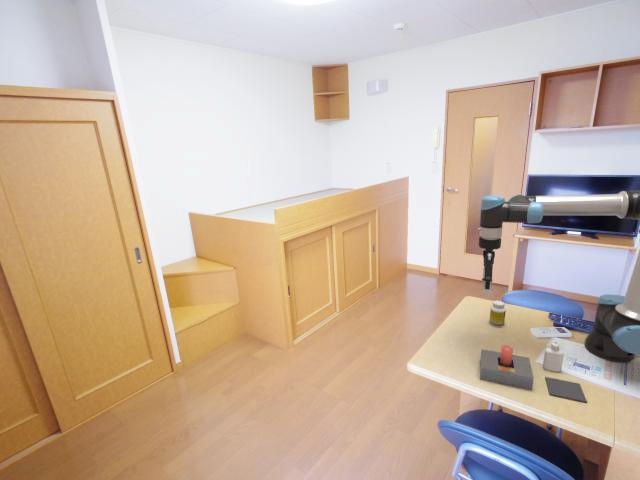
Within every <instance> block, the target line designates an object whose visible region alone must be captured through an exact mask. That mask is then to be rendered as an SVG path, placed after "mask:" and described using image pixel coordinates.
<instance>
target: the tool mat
mask: <svg viewBox="0 0 640 480" xmlns="http://www.w3.org/2000/svg"><path fill="white" fill-rule="evenodd" d="M544 380H545V382H546V383H545V384H546V387H547V390H548V394H549V396H551V397H557V398H560V399H564V400H570V401H575V402H580V403H585V404H587V403H588V401H587V398H586V395H585V393H584V391H583V388H582V387H581V384H580V383H578V382H573V381H569V380H563V379H559V378H555V377H554V378H553V377H548V376H545V377H544Z"/></svg>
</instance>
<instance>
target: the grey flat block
mask: <svg viewBox="0 0 640 480" xmlns="http://www.w3.org/2000/svg"><path fill="white" fill-rule="evenodd" d="M500 357H501V351H494V350H489V349H484V348H481V349H480V360H479V362H480V364H479V365H480V366H479V367H480V369H479V372H480V375H479V377H480V380H482V381H486V382H491V383H495V384H500V385H505V386H509V387H515V388H519V389H524V390H527V391H533V386H534V385H533V384H534V378H535V377H534V373H533V369H532V364H531V359H530V357H527V356H523V355H522V356H521V355H516V354H512V363H511V366H510V367H505V366H502V365H501V364H500Z"/></svg>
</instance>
